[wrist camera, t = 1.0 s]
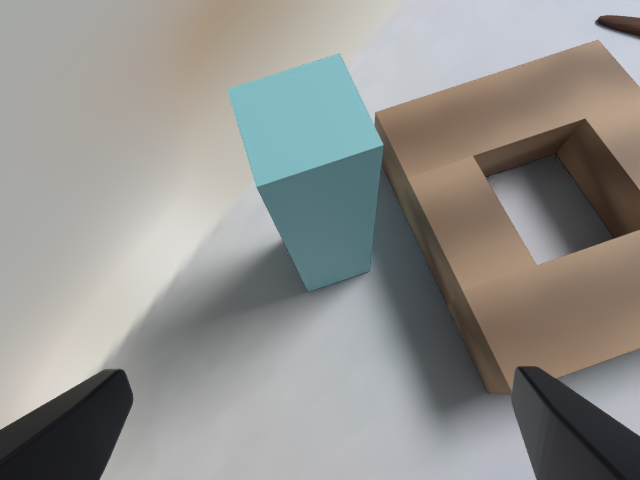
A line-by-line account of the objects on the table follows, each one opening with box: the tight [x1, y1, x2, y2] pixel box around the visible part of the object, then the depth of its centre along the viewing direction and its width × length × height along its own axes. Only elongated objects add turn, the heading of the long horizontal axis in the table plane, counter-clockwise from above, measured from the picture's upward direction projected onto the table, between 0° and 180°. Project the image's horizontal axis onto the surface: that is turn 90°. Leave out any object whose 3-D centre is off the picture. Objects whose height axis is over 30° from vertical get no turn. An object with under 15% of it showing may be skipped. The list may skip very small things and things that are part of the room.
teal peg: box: [227, 54, 384, 292], centre depth 18 cm, size 4×4×13 cm
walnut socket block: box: [375, 40, 640, 394], centre depth 22 cm, size 17×15×4 cm
